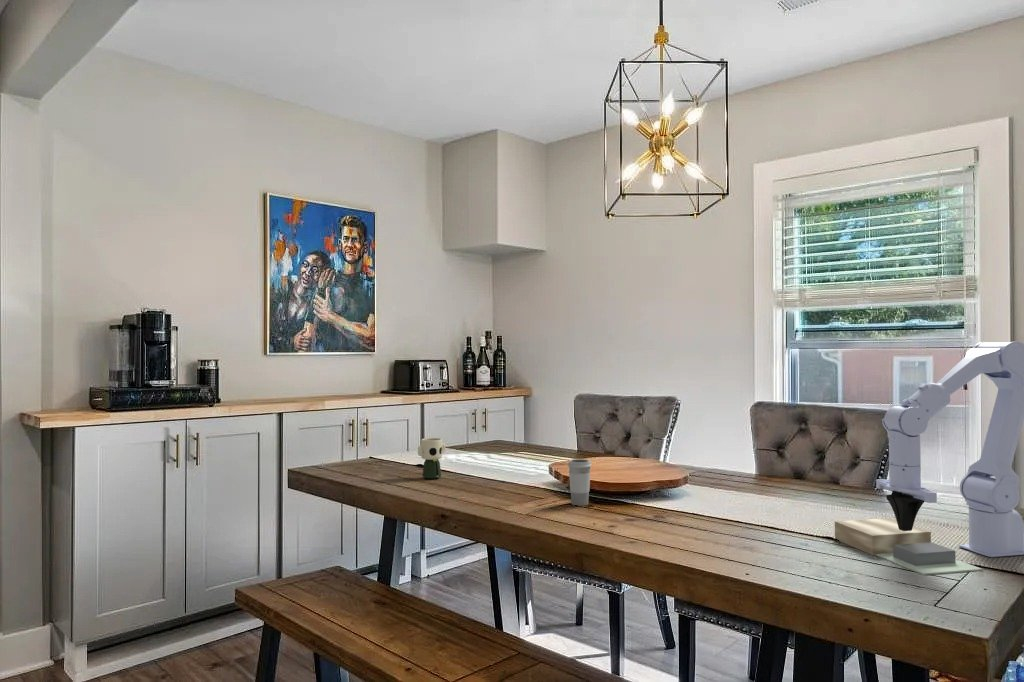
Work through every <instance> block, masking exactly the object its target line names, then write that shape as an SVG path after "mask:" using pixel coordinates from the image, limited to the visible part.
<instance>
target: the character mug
mask: <svg viewBox="0 0 1024 682" xmlns="http://www.w3.org/2000/svg"><path fill="white" fill-rule="evenodd" d="M445 452H446V443H444V442H443V439H442V438H439V437H428V438H427V437H426V438H422V439H421V440H420V445H419V446H418V447H417V455H418V456H419V457H421V459H424V462H423V468H422V477H423V478H426V479H428V478H429V479H437V476H438V478H441V477H442V470H441V469H442V468H441V463H440V459H442V458H443V455H444V454H445Z"/></svg>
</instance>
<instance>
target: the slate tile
mask: <svg viewBox="0 0 1024 682" xmlns="http://www.w3.org/2000/svg"><path fill="white" fill-rule="evenodd" d="M893 557H895V558H898V559H900V560H903V561H905V562H907V563H910V564H912V565H915V566H922V565H935V564H948V563H956V550H955V549H952V548H949V547H946V546H944V545H940V544H937V543H934V542H932V541H931V542H930V543H915V544H901V545H893Z"/></svg>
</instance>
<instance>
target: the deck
mask: <svg viewBox="0 0 1024 682" xmlns="http://www.w3.org/2000/svg"><path fill="white" fill-rule="evenodd" d="M835 538H836V539H838V540H839V541H838V540H837V541H838V542H841V543H843V544H845V545H848V546H850V547H852V548H855V549H858V550H860V551H863V552H865V553H867V554H869V555H872V556H877V555H876V554H885V553H893V545H901V544H915V543H930V542H932V532H931V531H930V530H927V529H924V528H920V527H918V526H915V525H913V528H912V531H902V530H899V528H898V524H897V521H896V519H893V518H890V517H885V518H884V517H883V518H870V519H869V518H866V519H853V520H852V519H850V520H837V521H836V520H835V521H834V539H835Z"/></svg>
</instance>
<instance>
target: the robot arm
mask: <svg viewBox="0 0 1024 682" xmlns="http://www.w3.org/2000/svg"><path fill="white" fill-rule="evenodd" d="M981 374H983V375H984V376H986V377H987V378H988V379H989V380H990V381H992V382H993V384H994V385H995V386H996V387H997V393H996V397H995V401H994V405H993V408H992V411H991V412H992V413H991V417H990V419H989V420H990V421H989V424H988V426H987V432H986V435H985V439H984V443H983V447H982V450H981V453H980V457H979V459H978V460H977V461H975V462H973V463H972V464H970V465H969V466H968V470H967V472H966V474H965V476H963V478H962V479H961V481H960V484H959V493H960V494H961V496H962V498H964V499H965V501H966V506H968V543H962V544H958V547H959V548H962V549H965V550H968V551H971V552H973V553H976V554H980V555H983V556H986V557H988V558H997V557H998V558H999V557H1000V558H1001V557H1010V556H1011V557H1013V556H1023V555H1024V520H1023V517H1022V515H1021V514H1020V513H1019V512H1018V511H1017V510H1015V508H1016V507H1017V506H1018V504H1019V501H1020V498H1021V496H1020V489H1019V488H1020V487H1019V486H1020V477H1019V476H1018V474H1017V473H1016V472H1015V471H1014V469H1013V468H1012V464H1013V462H1014V457H1015V454H1016V450H1017V446H1018V443H1019V439H1020V434H1021V430H1022V427H1023V422H1024V343H1023V342H1022V341H1010V342H1009V341H1007V342H1006V341H1003V342H996V341H995V342H989V341H980V342H978V343H976V344H975V345H974V346H973V347H972V348H970V349H968V350H966V353H965V356H964V357H963V358H961V360H960V361H959V362H958V363H956V365H954V366H953V367H952V368H951V369H950V370H949V371H948V372H946V374H945V375H944V376H942V377H941V378H940V379H939V380H938V381H937V382H926V383H921V384H920V385H918V386H917V389H918V390H917V391H915V392H914V393H913V394H912V395H911V396H909V397H908V398H904V399H903V400H902V401H901V403H900V405H896V406H895V405H894V406H891V407H890V408H888V409H887V410H886V412H885V414H884V418H882V419H881V422H882V426H883V428H884V429H885V430H886V433H887V439H888V468H889V469H888V471H889V472H888V477H889V478H888V479H886V478H880V479H876V481H875V487H876V489H878V490H886V491H888V492H891V494H886V497H885V498H886V500H887V502H888V503H889V505H890V506H891V509H892V511H893V514H894V516H895V520H896V521H897V524H898V528H899V530H902V531H912V528H913V526H914V524H915V520H916V517H917V515H918V513H919V511H920V509H921V508H922V506H923V505H924V503H927V504H928V503H929V504H930V503H937V502H938V500H937V499H938V496H937V494H938V493H937V492H935V491H933V490H931V489H927V488H926V487H923V486H922V484H921V483H922V482H921V481H922V478H921V477H922V473H921V471H922V470H921V469H922V467H921V463H922V461H921V434H923V433H925V432H926V430H927V427H928V423H929V421H930V420H931V419H932V418H933V417H935V415H937V414H938V413H940V411H942V410H943V409H944V408H946V407H947V406H948V405H950V403H951V395H952V394H954V393H955V392H957V391H958V390H959V389H961V388H962V387H964V386H965V385H967V384H968V383H969V382H971V381H973V380H974V379H975V378H976V377H978V376H979V375H981Z"/></svg>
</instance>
